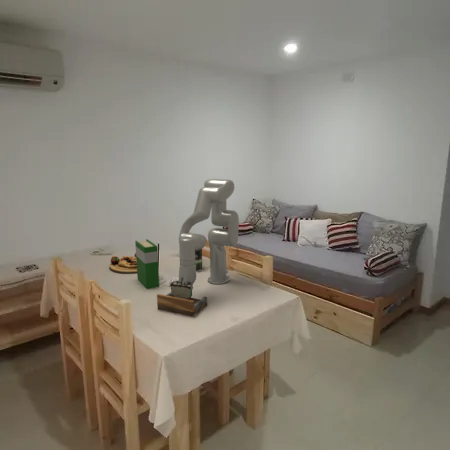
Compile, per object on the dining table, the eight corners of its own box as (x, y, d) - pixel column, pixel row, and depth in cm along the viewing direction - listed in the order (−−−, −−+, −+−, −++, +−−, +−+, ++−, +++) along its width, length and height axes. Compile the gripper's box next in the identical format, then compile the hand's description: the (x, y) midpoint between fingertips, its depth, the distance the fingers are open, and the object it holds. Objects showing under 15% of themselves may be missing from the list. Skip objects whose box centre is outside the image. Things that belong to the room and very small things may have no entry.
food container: (197, 300, 180) (197, 281, 178) (192, 305, 175) (191, 286, 173) (176, 297, 185) (175, 278, 183) (170, 301, 179) (169, 282, 177)
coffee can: (200, 272, 228) (199, 251, 225) (184, 271, 231) (183, 250, 228) (204, 267, 238) (204, 246, 235) (189, 266, 240) (189, 246, 237)
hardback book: (137, 279, 217) (135, 240, 212) (149, 277, 221) (147, 239, 216) (146, 289, 202) (144, 247, 197) (159, 286, 206) (157, 246, 201)
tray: (173, 298, 189) (172, 285, 188) (207, 305, 181) (206, 291, 179) (157, 309, 177) (156, 294, 175) (193, 316, 168) (192, 301, 167)
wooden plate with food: (100, 273, 231) (99, 260, 229) (122, 257, 261) (122, 246, 259) (147, 276, 225) (147, 264, 223) (165, 260, 255) (164, 249, 254)
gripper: (188, 256, 188) (189, 290, 191) (172, 265, 174) (174, 300, 178) (201, 258, 185) (202, 292, 188) (186, 267, 171) (187, 303, 175)
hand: (188, 296), depth 183 cm, fingers closed
